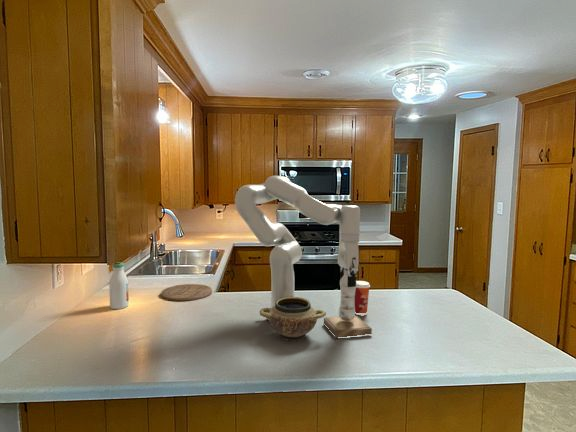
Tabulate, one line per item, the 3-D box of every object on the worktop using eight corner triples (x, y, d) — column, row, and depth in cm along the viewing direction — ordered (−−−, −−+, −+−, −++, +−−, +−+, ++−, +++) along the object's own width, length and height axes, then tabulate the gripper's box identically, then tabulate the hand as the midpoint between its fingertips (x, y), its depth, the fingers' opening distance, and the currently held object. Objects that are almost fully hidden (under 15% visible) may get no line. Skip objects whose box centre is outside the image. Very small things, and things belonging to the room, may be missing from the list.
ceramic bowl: (255, 348, 131) (253, 312, 126) (266, 319, 147) (264, 286, 142) (324, 354, 127) (324, 317, 122) (327, 323, 143) (327, 290, 138)
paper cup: (364, 318, 154) (365, 286, 153) (348, 314, 159) (349, 282, 158) (372, 313, 160) (373, 282, 159) (356, 309, 165) (357, 279, 164)
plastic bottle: (335, 320, 139) (337, 269, 137) (341, 314, 145) (343, 266, 143) (351, 324, 136) (354, 272, 134) (357, 318, 142) (359, 268, 140)
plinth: (336, 339, 133) (336, 330, 132) (323, 325, 146) (323, 317, 146) (371, 336, 136) (371, 327, 136) (356, 322, 149) (356, 314, 149)
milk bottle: (123, 309, 161) (122, 265, 159) (106, 309, 161) (105, 265, 159) (131, 304, 168) (130, 261, 167) (115, 303, 168) (114, 261, 167)
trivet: (217, 288, 197) (217, 285, 197) (202, 303, 172) (202, 299, 172) (173, 286, 199) (173, 283, 199) (152, 300, 175) (151, 297, 174)
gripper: (331, 234, 145) (330, 279, 147) (348, 241, 129) (347, 291, 130) (349, 234, 147) (348, 278, 149) (368, 241, 130) (366, 290, 132)
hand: (347, 283), depth 139 cm, fingers closed on plastic bottle, 6 cm apart
